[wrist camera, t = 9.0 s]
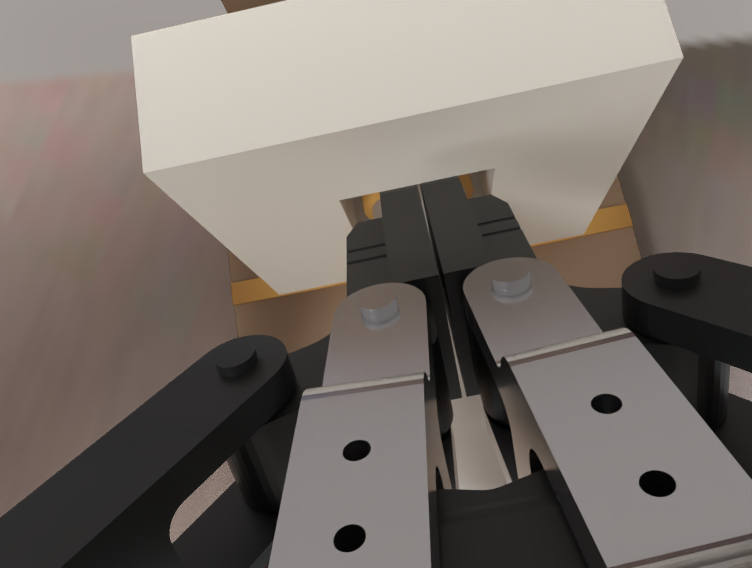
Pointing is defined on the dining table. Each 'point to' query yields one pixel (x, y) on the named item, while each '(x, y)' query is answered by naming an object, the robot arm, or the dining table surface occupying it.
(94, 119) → the dining table surface
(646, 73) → the white square block
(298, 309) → the rod rig
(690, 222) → the dining table surface
